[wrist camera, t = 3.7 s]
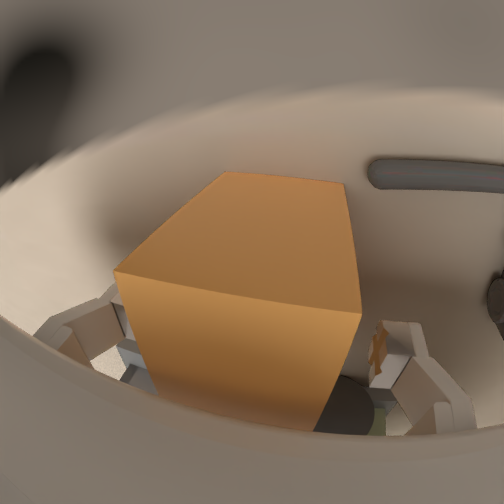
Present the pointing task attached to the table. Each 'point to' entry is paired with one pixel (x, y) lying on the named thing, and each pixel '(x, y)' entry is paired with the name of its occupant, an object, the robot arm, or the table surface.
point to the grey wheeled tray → (332, 417)
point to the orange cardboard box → (248, 298)
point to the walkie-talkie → (445, 178)
